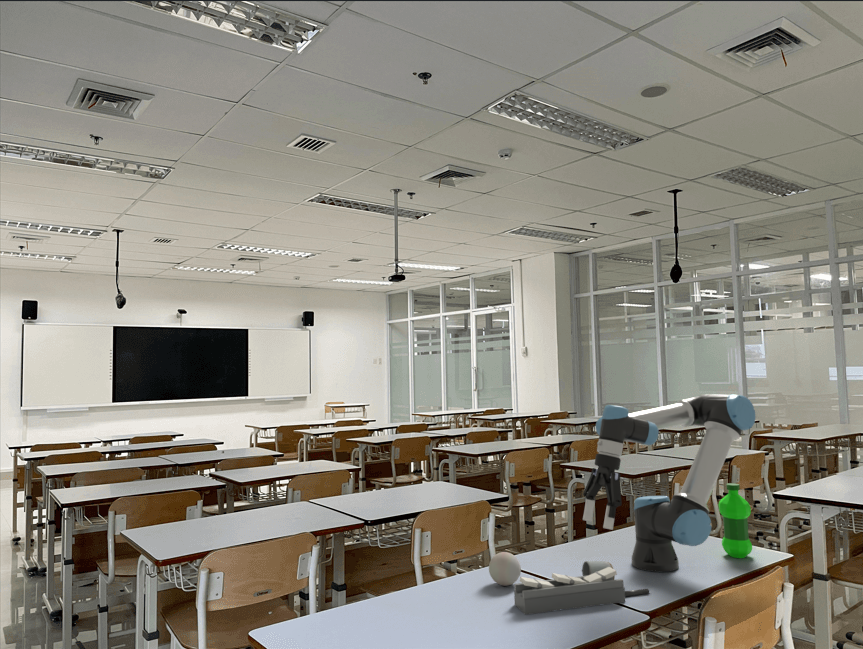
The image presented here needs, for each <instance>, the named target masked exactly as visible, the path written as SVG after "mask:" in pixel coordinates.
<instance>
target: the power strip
mask: <svg viewBox="0 0 863 649" xmlns="http://www.w3.org/2000/svg"><path fill="white" fill-rule="evenodd" d="M587 576H588V575H587ZM576 577H577V578H581V579H582V580H584V579H583V578H584V577H586V576H583V575H580V576H576ZM543 581H547V582H550V583H551V584H552V585H554V587H549V588H537V587H531V586H526V585H524V584H523V583H521V582H520V583H514V590H513V591H514V592H513V597H514V599H513V600H514V606H515V607H517V608H518V609H519V611H520V612H522V613H523V614H524V615H526V616H527V615H533V614H541V613H548V612H547V611H550V612H555V611H554V610H557V611H561V610H560V609H565V610H570V609H569V608H573V609H579V608H580V607H581V608H587V607H586V606H589V607H595V606H594V605H596V606H601V605H600V604H604V605H611V604H619V603H625V602H626V597H631V596H633V597H634V596H639V595H647V594H650V590H649V588H639V589H632V590H625V589H626V588H625V586H624V585H625V584H624V579H622V578H618V579H617V578H616V579H614V580H613V577H611V578H608V579H606V580H605V581H600V582H591V583H583V584H573V585H571V584H568V583H563V582H557V581H556V580H555V579H553V578H552V579H546V580H543ZM581 608H580V609H581Z"/></svg>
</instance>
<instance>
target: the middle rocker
mask: <svg viewBox="0 0 863 649" xmlns="http://www.w3.org/2000/svg"><path fill="white" fill-rule="evenodd" d="M577 577H578V576H570V575H566V574H559V573H554V572H551V578H552V580H553V579H555V580H556V581H557V582H563V583H568V584H571V585H573V584H583V583H586V582H585V581H584V580H582V579H581V578H577Z"/></svg>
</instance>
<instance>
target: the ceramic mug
mask: <svg viewBox="0 0 863 649" xmlns="http://www.w3.org/2000/svg"><path fill="white" fill-rule="evenodd" d="M607 567H611V568H612V569H614V566H613V565H612V563H610V562H609V561H603V560H601V561H599V560H598V561H597V560H585V561H584V562H583V564H582V569H581V570H582V571H581V573H582V576H587V575H591V574H593V573H595V572H598V571H600V570H603V569H605V568H607ZM615 576H616V575H615ZM615 576H613V580H615Z"/></svg>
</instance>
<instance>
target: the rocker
mask: <svg viewBox="0 0 863 649" xmlns="http://www.w3.org/2000/svg"><path fill="white" fill-rule="evenodd" d="M617 575H618V573H617V570H616V569H614V568H613V569H612V568H611V567H607V568H605V569H603V570H600V571H598V572H595V573H593V574H591V575H588V576H586V577H584V578H583V579H584V581H585V582H586V583H591V582H600V581H605V580H606V579H608V578H611V577H613V576H617Z"/></svg>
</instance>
